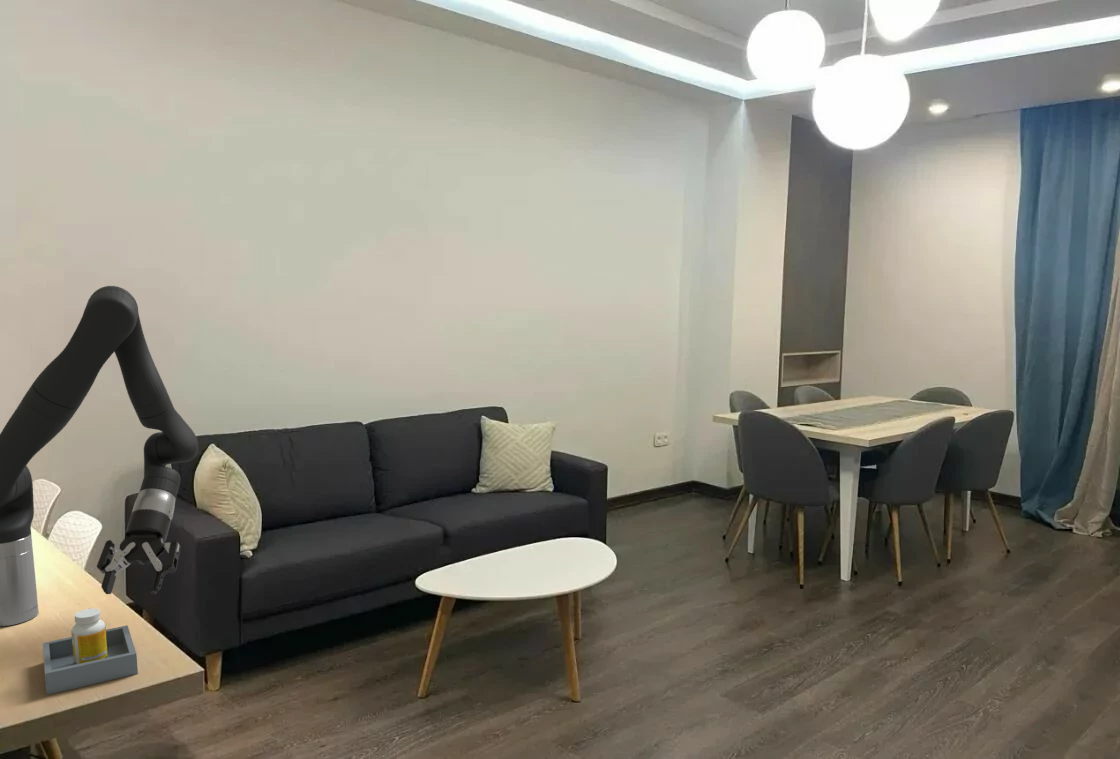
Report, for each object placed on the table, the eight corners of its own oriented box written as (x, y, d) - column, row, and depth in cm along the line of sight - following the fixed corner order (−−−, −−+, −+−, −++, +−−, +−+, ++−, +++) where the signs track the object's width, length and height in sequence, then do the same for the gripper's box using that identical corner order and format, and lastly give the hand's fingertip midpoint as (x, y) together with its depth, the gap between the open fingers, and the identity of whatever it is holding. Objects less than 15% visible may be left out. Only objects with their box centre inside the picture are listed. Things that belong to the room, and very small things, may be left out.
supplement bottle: (67, 666, 154) (62, 616, 153) (94, 654, 159) (89, 604, 158) (88, 672, 152) (84, 621, 151) (115, 659, 157) (110, 609, 155)
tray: (46, 694, 146) (44, 673, 145) (44, 662, 158) (42, 642, 157) (137, 673, 153) (136, 653, 153) (129, 644, 165) (127, 625, 164)
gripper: (108, 507, 170) (83, 585, 160) (182, 507, 171) (161, 584, 161) (122, 525, 176) (98, 600, 166) (193, 524, 177) (174, 600, 167)
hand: (129, 592), depth 164 cm, fingers open, 8 cm apart
